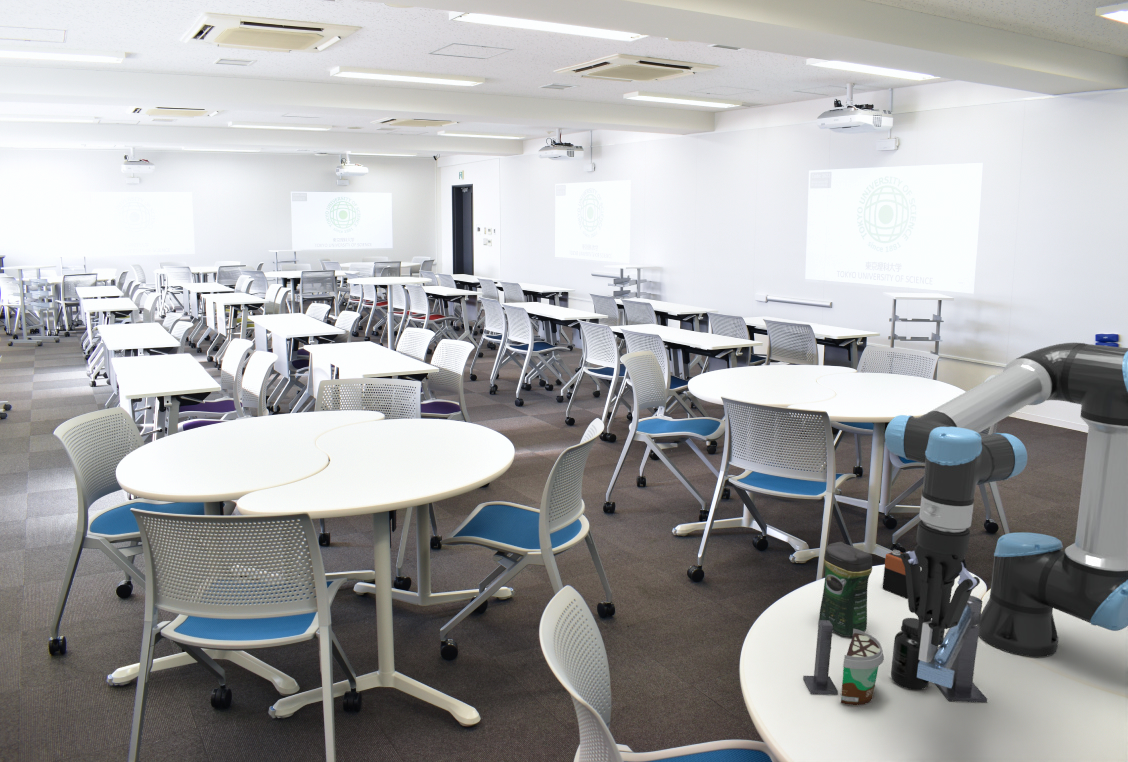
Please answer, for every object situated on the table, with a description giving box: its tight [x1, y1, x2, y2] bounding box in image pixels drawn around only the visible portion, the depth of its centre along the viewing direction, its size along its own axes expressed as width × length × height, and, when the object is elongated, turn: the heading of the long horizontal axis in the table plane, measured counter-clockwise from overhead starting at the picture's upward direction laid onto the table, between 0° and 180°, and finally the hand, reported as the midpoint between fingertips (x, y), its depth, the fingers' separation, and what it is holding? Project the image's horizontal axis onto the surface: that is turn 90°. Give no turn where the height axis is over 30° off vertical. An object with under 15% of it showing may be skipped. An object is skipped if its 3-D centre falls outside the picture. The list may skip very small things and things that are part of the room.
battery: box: [882, 549, 908, 599], centre depth 190 cm, size 4×7×10 cm, turn 36°
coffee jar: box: [818, 541, 873, 637], centre depth 170 cm, size 10×8×19 cm
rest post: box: [802, 619, 839, 696], centre depth 147 cm, size 5×5×13 cm
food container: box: [840, 629, 885, 706], centre depth 145 cm, size 12×6×10 cm, turn 153°
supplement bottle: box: [890, 617, 930, 691], centre depth 150 cm, size 7×7×12 cm
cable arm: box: [917, 594, 983, 688], centre depth 135 cm, size 30×5×4 cm, turn 143°
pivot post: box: [933, 625, 988, 704], centre depth 147 cm, size 7×7×14 cm
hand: (927, 659), depth 130 cm, fingers closed
